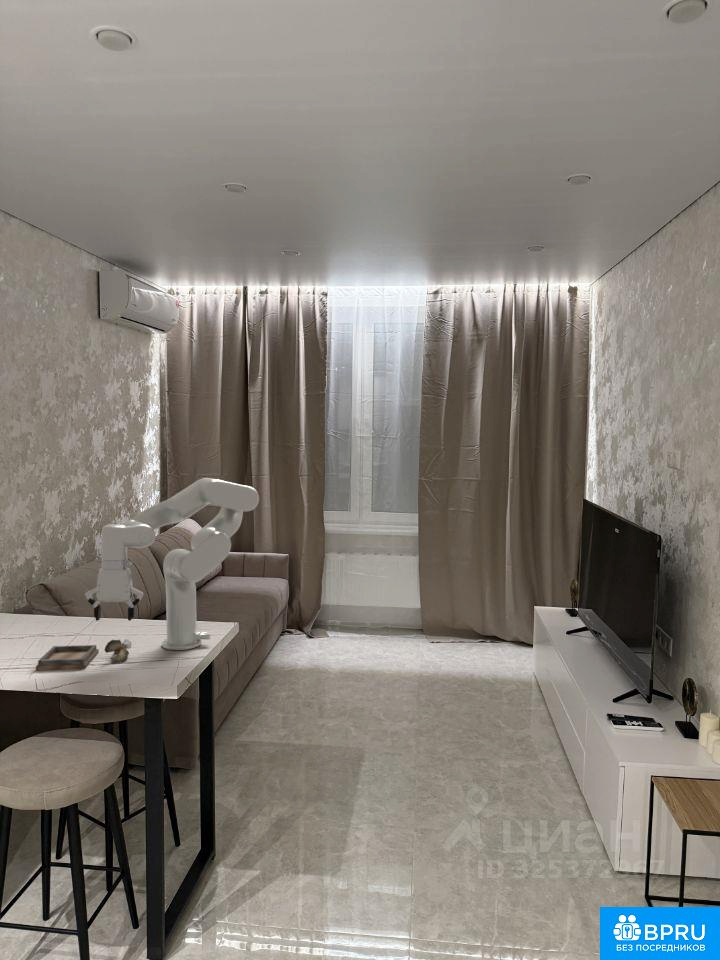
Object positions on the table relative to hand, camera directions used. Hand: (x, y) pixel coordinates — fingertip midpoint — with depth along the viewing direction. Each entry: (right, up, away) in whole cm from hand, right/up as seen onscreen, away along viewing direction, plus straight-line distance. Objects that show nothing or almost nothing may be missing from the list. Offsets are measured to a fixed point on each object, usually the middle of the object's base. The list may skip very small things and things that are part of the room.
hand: (114, 619), depth 221 cm
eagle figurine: (+1, -12, 0) cm, 12 cm away
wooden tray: (-13, -12, -2) cm, 18 cm away
